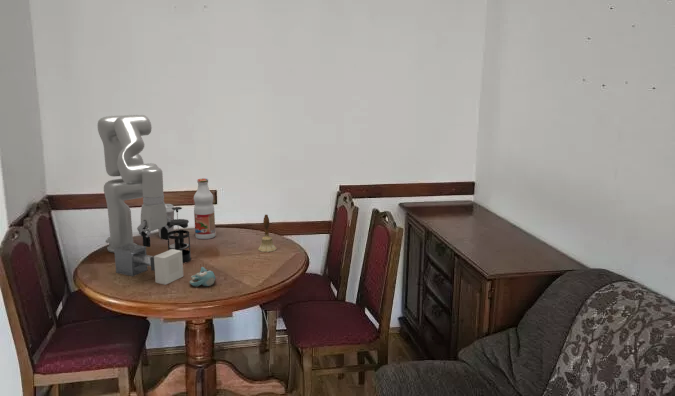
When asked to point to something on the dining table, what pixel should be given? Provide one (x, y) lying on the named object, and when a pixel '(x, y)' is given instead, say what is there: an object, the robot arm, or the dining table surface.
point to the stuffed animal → (203, 278)
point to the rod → (144, 260)
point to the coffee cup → (170, 213)
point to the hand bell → (267, 238)
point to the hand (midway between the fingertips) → (155, 242)
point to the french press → (180, 237)
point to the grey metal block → (129, 259)
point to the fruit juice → (204, 211)
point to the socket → (168, 266)
